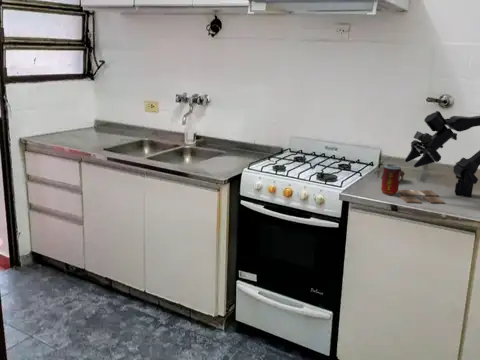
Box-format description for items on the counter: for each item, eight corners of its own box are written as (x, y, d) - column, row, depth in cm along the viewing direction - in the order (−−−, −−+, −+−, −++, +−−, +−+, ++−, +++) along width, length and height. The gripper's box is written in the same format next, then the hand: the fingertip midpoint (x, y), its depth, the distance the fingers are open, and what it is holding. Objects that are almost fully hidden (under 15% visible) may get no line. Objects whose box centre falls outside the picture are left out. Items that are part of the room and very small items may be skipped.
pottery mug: (382, 177, 244) (392, 163, 242) (397, 189, 240) (408, 175, 238) (375, 175, 234) (386, 161, 231) (391, 188, 230) (403, 174, 227)
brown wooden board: (431, 191, 222) (431, 190, 221) (438, 196, 215) (438, 195, 215) (396, 191, 220) (396, 189, 220) (402, 195, 213) (402, 194, 213)
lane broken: (436, 198, 212) (437, 196, 212) (444, 203, 206) (444, 202, 205) (400, 197, 211) (400, 196, 211) (406, 202, 204) (407, 201, 204)
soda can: (396, 191, 219) (399, 164, 216) (398, 196, 212) (402, 168, 209) (379, 190, 220) (382, 162, 217) (381, 194, 213) (385, 166, 210)
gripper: (418, 121, 218) (390, 145, 220) (438, 129, 200) (407, 155, 202) (433, 140, 221) (405, 163, 223) (453, 149, 203) (423, 174, 205)
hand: (409, 164), depth 213 cm, fingers open, 9 cm apart
